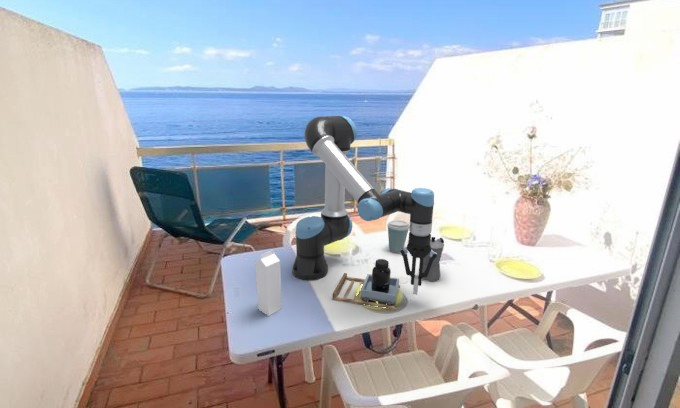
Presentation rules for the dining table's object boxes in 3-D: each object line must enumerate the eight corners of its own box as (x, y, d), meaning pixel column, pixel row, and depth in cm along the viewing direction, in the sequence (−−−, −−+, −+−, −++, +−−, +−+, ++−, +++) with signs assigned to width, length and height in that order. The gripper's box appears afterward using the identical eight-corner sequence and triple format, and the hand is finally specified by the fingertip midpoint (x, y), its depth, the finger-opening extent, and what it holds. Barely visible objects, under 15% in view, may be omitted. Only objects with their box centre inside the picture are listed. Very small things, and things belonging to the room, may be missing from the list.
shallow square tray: (359, 301, 126) (360, 291, 125) (367, 282, 139) (368, 273, 138) (394, 307, 123) (395, 296, 122) (398, 287, 136) (399, 277, 135)
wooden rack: (332, 299, 128) (332, 294, 127) (344, 278, 143) (344, 273, 143) (394, 310, 122) (395, 304, 121) (400, 286, 137) (400, 281, 137)
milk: (282, 308, 122) (280, 252, 116) (268, 316, 118) (266, 258, 111) (270, 302, 126) (268, 246, 119) (257, 309, 121) (254, 252, 115)
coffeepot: (431, 286, 138) (435, 245, 133) (411, 278, 144) (414, 238, 139) (449, 273, 149) (454, 234, 143) (430, 266, 155) (434, 228, 150)
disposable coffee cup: (382, 247, 173) (383, 219, 169) (401, 245, 177) (403, 217, 172) (391, 256, 164) (393, 226, 159) (411, 253, 167) (414, 224, 162)
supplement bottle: (388, 296, 127) (390, 267, 123) (370, 294, 128) (371, 265, 125) (389, 286, 133) (391, 258, 130) (372, 284, 135) (373, 256, 131)
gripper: (400, 234, 118) (396, 295, 125) (439, 238, 115) (433, 300, 122) (402, 227, 125) (398, 284, 132) (439, 230, 122) (433, 290, 129)
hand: (415, 292), depth 127 cm, fingers closed
